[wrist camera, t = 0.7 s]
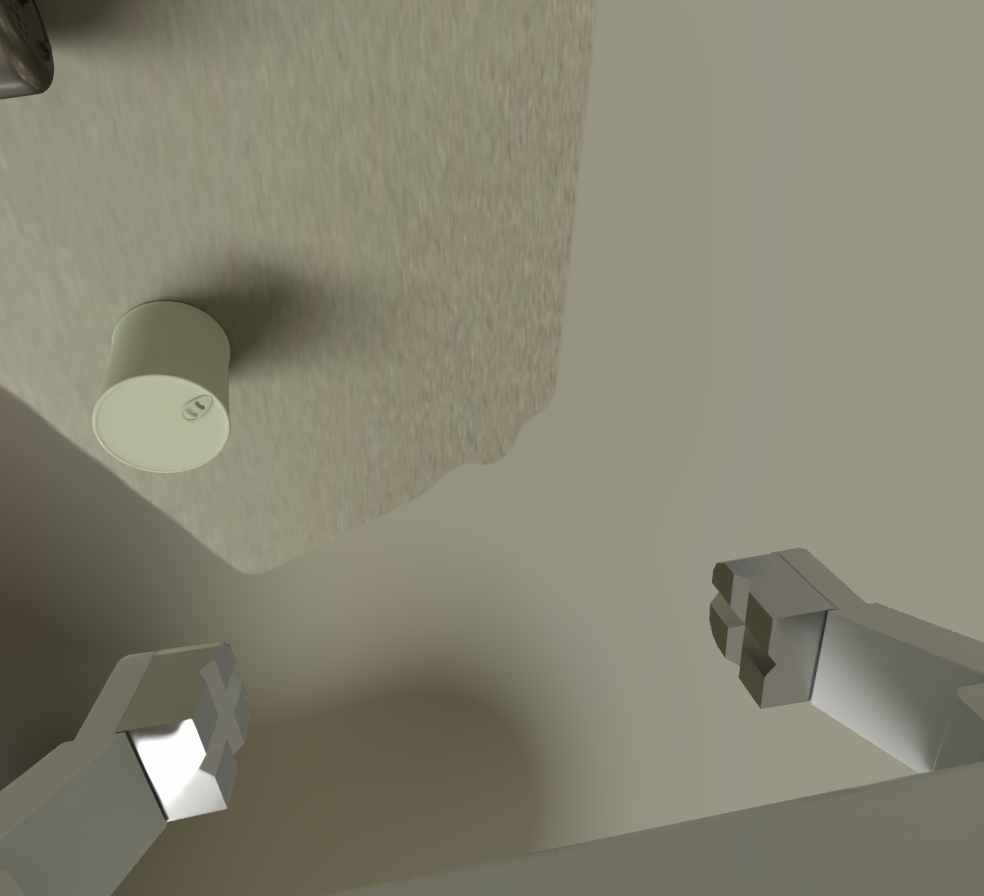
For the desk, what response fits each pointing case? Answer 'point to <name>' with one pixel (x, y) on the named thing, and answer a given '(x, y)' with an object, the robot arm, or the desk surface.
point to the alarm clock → (23, 50)
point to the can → (165, 389)
